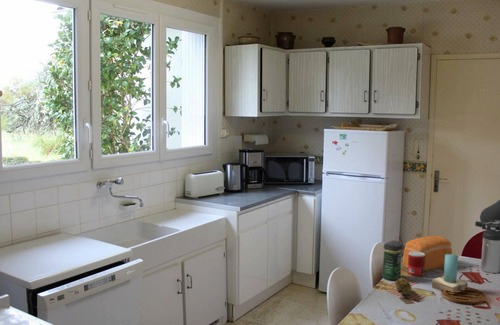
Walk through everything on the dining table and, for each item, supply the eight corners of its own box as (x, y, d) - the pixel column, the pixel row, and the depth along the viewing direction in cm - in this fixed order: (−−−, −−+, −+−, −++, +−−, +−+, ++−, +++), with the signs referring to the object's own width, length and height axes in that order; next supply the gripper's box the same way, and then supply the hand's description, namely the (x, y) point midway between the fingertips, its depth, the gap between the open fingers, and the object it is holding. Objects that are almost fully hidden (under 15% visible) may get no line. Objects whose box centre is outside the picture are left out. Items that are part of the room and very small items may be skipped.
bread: (400, 266, 263) (401, 237, 262) (432, 259, 277) (433, 231, 275) (421, 273, 252) (422, 243, 250) (453, 265, 265) (454, 237, 264)
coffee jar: (395, 282, 238) (396, 245, 236) (379, 278, 243) (381, 242, 241) (402, 277, 246) (404, 241, 244) (388, 273, 251) (389, 238, 249)
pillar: (448, 278, 233) (449, 253, 232) (458, 281, 228) (460, 256, 227) (441, 280, 230) (442, 255, 229) (451, 283, 225) (453, 258, 224)
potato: (417, 292, 225) (418, 275, 224) (406, 300, 215) (407, 283, 214) (400, 288, 230) (401, 271, 229) (388, 295, 220) (389, 278, 219)
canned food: (425, 277, 246) (426, 256, 245) (408, 276, 247) (409, 254, 246) (422, 272, 253) (424, 251, 252) (406, 271, 255) (407, 250, 254)
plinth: (446, 283, 237) (446, 275, 237) (467, 290, 228) (467, 282, 228) (431, 287, 231) (432, 279, 231) (452, 294, 222) (453, 286, 222)
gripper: (525, 219, 217) (490, 212, 230) (507, 223, 209) (472, 216, 222) (524, 235, 218) (489, 228, 231) (506, 240, 210) (471, 232, 223)
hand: (481, 222), depth 227 cm, fingers open, 8 cm apart
